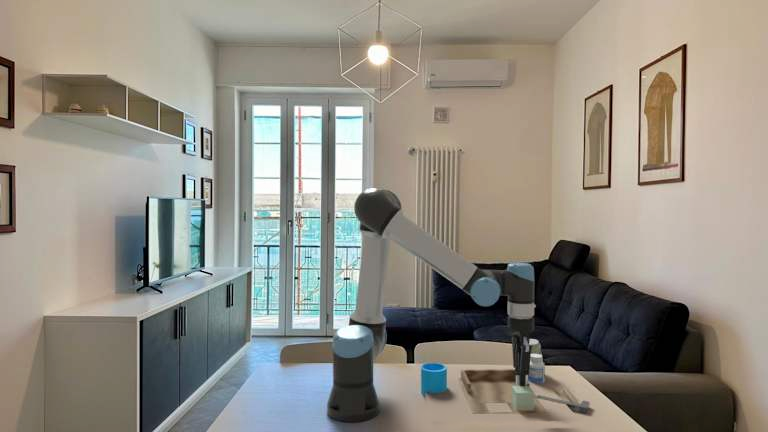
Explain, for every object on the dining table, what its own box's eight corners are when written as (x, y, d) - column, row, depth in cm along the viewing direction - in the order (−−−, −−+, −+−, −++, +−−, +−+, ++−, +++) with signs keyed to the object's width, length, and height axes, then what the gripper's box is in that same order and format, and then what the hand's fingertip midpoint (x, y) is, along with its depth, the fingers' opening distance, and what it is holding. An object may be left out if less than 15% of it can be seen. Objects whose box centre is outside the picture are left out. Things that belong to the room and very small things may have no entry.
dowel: (575, 409, 137) (575, 404, 137) (562, 393, 149) (562, 388, 149) (581, 410, 137) (581, 404, 137) (568, 393, 149) (568, 388, 149)
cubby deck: (472, 418, 131) (472, 402, 131) (457, 382, 157) (457, 369, 157) (548, 418, 131) (548, 402, 131) (520, 382, 157) (520, 369, 157)
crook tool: (586, 414, 133) (586, 407, 133) (536, 403, 141) (536, 397, 141) (589, 407, 138) (589, 401, 138) (540, 397, 145) (540, 391, 145)
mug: (446, 398, 145) (446, 372, 144) (419, 396, 146) (419, 370, 146) (447, 384, 156) (447, 359, 156) (423, 382, 158) (423, 358, 158)
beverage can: (544, 372, 167) (544, 338, 166) (538, 378, 160) (539, 343, 160) (526, 369, 170) (526, 336, 170) (520, 375, 164) (520, 341, 164)
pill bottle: (532, 380, 159) (532, 351, 159) (547, 384, 155) (547, 355, 155) (524, 384, 155) (524, 355, 155) (539, 389, 151) (539, 359, 151)
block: (516, 410, 132) (516, 392, 132) (511, 403, 137) (511, 386, 137) (534, 410, 132) (534, 393, 132) (529, 403, 137) (529, 386, 137)
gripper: (541, 321, 132) (541, 404, 132) (526, 310, 145) (527, 386, 145) (514, 321, 132) (514, 405, 132) (502, 311, 145) (502, 387, 145)
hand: (521, 395), depth 139 cm, fingers closed
